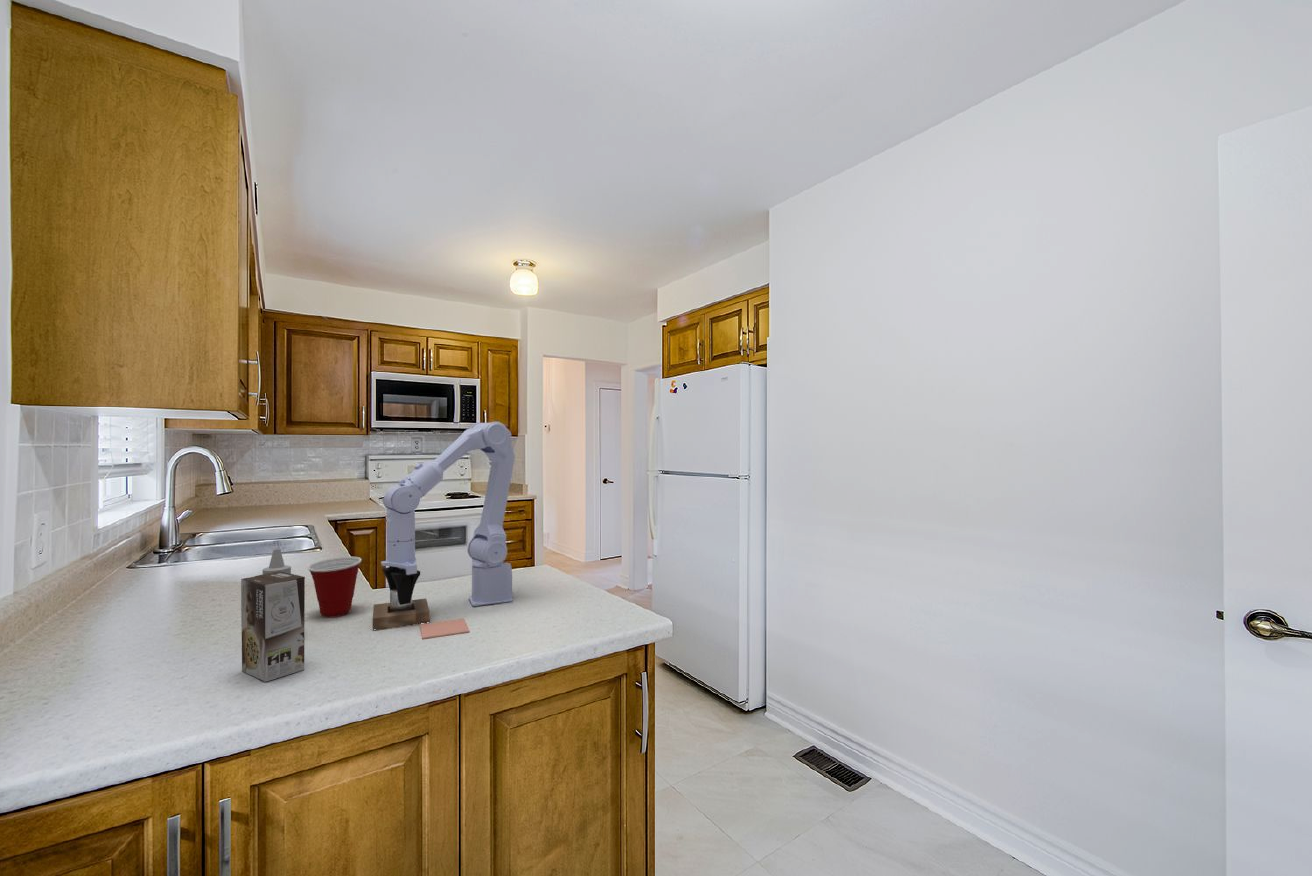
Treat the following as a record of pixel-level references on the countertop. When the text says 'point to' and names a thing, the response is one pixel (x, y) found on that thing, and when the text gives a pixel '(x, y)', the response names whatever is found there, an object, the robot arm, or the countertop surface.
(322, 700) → the countertop surface
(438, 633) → the rubber mat
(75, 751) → the countertop surface
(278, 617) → the coffee box
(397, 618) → the socket block
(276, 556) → the squeeze bottle
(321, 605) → the plastic cup
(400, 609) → the metal plug
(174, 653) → the countertop surface
